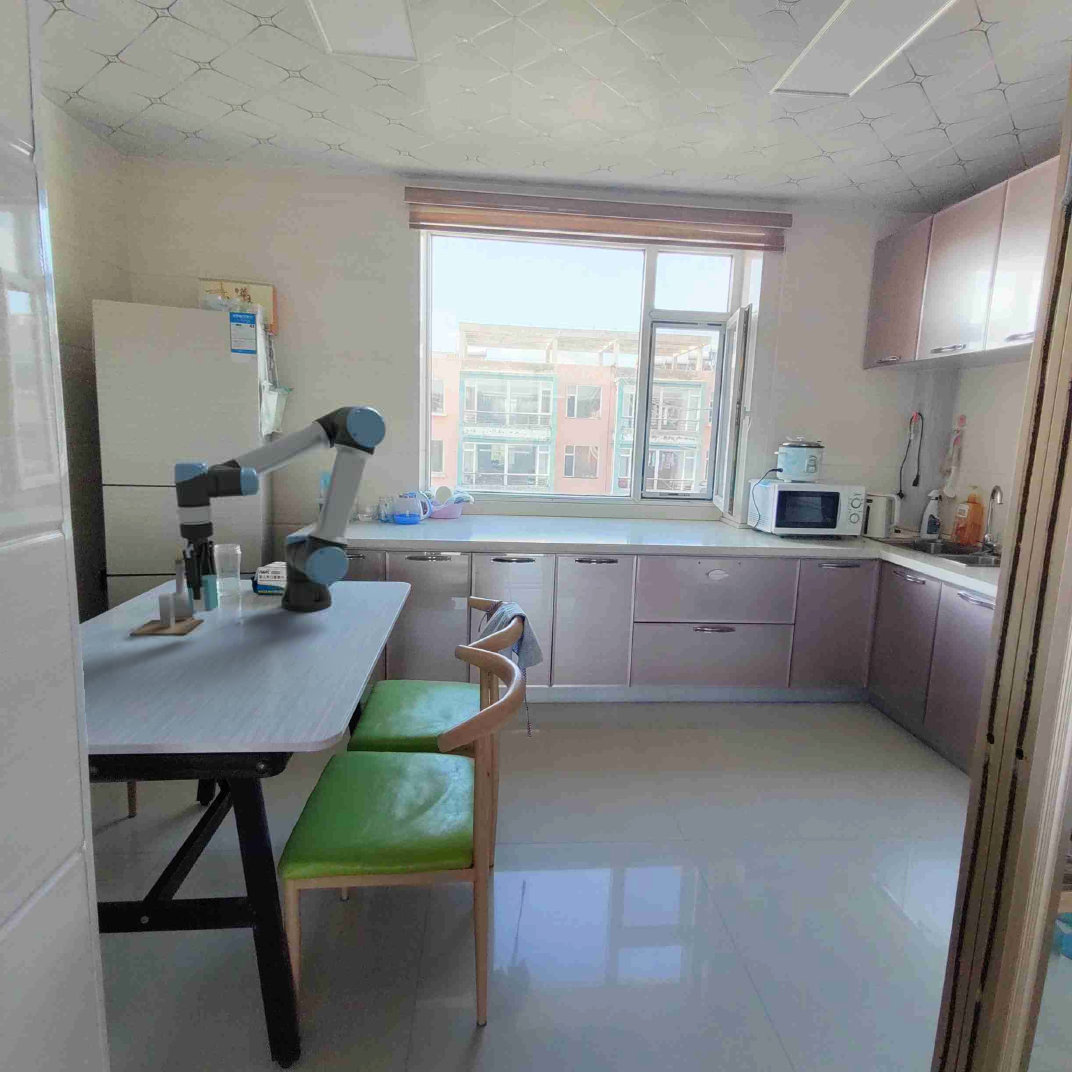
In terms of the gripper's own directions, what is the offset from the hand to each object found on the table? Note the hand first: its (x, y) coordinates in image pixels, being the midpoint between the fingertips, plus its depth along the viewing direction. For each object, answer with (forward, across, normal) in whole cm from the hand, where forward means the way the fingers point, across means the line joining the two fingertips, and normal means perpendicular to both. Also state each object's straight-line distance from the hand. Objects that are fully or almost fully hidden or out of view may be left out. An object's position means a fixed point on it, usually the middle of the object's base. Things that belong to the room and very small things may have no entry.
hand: (204, 607), depth 164 cm
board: (+8, -6, -13) cm, 16 cm away
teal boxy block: (0, 0, 0) cm, 0 cm away
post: (+8, -6, -13) cm, 16 cm away
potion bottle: (+8, -15, -13) cm, 21 cm away
